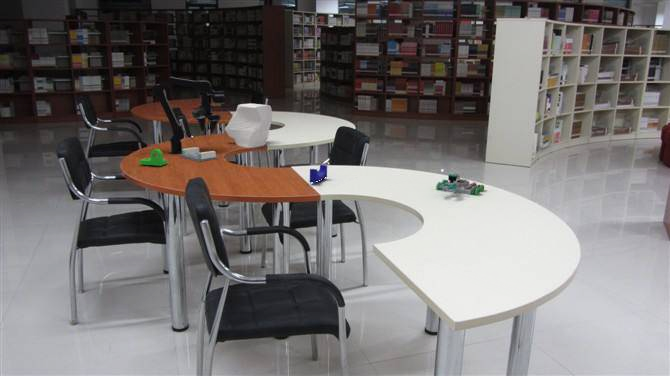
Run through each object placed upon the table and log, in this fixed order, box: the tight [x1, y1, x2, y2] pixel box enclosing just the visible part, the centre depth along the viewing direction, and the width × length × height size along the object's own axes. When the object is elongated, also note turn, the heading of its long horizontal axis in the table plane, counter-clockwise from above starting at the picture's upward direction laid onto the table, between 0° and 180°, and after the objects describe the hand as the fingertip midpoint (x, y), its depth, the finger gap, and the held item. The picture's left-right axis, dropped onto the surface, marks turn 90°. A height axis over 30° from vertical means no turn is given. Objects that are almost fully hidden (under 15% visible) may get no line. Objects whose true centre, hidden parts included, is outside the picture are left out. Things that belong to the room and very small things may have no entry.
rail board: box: [179, 146, 219, 163], centre depth 295 cm, size 18×12×4 cm, turn 47°
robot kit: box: [435, 172, 485, 196], centre depth 228 cm, size 19×25×9 cm
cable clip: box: [309, 164, 328, 183], centre depth 250 cm, size 12×4×6 cm, turn 156°
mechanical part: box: [139, 148, 168, 167], centre depth 278 cm, size 12×6×8 cm, turn 76°
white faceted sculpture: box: [224, 103, 273, 149], centre depth 330 cm, size 21×27×26 cm
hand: (207, 131), depth 309 cm, fingers open, 9 cm apart
